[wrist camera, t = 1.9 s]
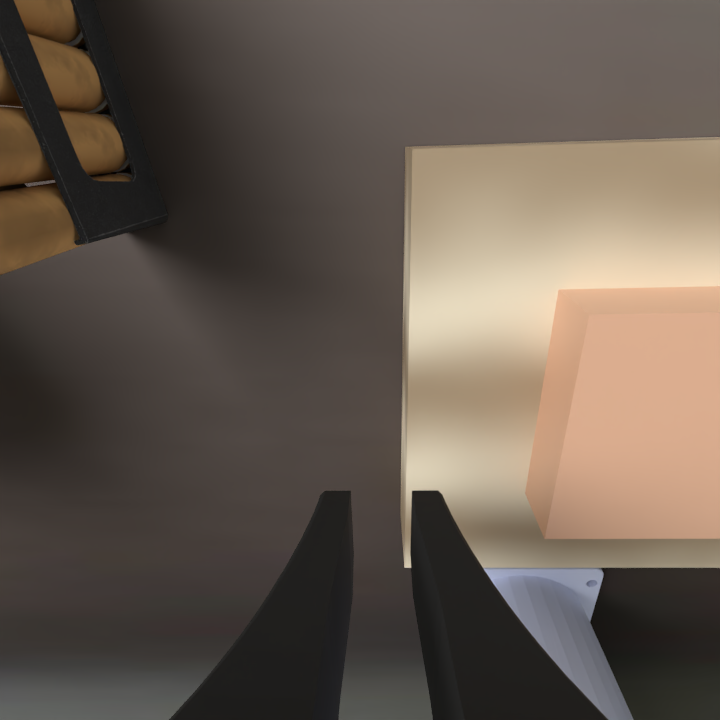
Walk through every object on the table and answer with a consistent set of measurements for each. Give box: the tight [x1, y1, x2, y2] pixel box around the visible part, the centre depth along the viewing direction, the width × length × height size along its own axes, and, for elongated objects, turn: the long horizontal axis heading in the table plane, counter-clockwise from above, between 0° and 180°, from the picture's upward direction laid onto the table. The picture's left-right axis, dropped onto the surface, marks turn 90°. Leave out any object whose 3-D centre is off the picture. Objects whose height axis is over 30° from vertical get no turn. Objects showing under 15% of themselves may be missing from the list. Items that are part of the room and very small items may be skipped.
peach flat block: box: [525, 286, 720, 539], centre depth 15 cm, size 8×8×2 cm
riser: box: [401, 137, 720, 568], centre depth 17 cm, size 16×14×3 cm
